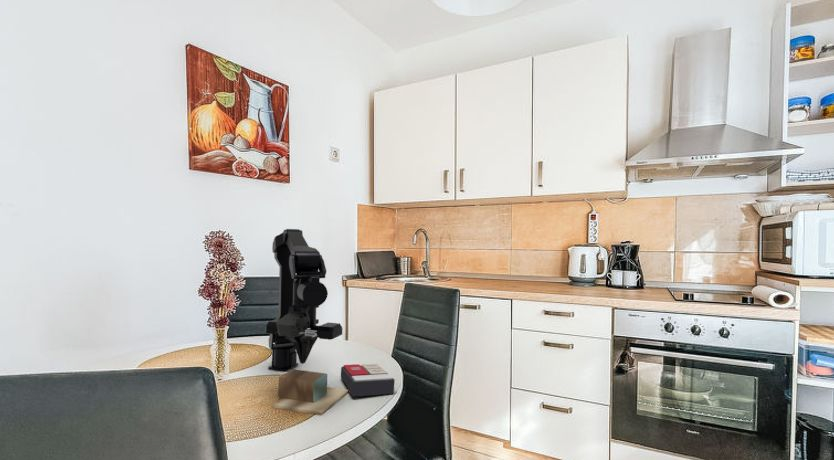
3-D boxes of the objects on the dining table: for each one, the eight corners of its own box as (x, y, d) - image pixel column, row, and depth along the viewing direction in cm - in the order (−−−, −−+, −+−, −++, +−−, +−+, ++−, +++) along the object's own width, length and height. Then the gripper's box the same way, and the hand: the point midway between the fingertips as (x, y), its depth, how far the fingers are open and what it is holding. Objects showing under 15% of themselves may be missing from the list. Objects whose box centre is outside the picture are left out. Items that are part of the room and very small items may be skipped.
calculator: (378, 362, 113) (395, 376, 100) (377, 377, 113) (394, 393, 99) (341, 363, 109) (353, 378, 95) (339, 379, 109) (352, 396, 95)
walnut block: (278, 376, 94) (314, 381, 92) (293, 369, 100) (327, 373, 97) (278, 397, 94) (314, 403, 91) (292, 388, 100) (326, 393, 97)
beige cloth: (272, 407, 90) (272, 404, 90) (305, 385, 104) (305, 383, 104) (321, 415, 86) (321, 412, 87) (349, 392, 100) (349, 389, 100)
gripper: (251, 302, 91) (249, 369, 91) (321, 308, 86) (319, 378, 86) (280, 296, 102) (278, 355, 102) (344, 300, 97) (342, 363, 96)
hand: (302, 363), depth 96 cm, fingers closed
